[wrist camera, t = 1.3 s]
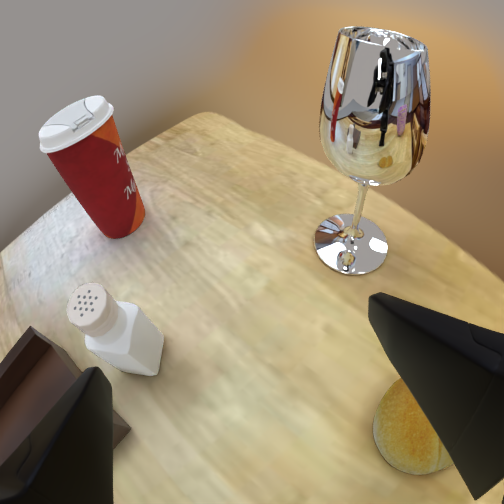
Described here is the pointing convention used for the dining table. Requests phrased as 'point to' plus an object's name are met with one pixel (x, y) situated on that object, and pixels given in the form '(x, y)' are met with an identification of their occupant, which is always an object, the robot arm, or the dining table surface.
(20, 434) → the spice rack
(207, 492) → the dining table surface
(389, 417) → the bread roll
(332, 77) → the wineglass
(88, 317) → the pepper shaker
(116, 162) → the coffee cup
